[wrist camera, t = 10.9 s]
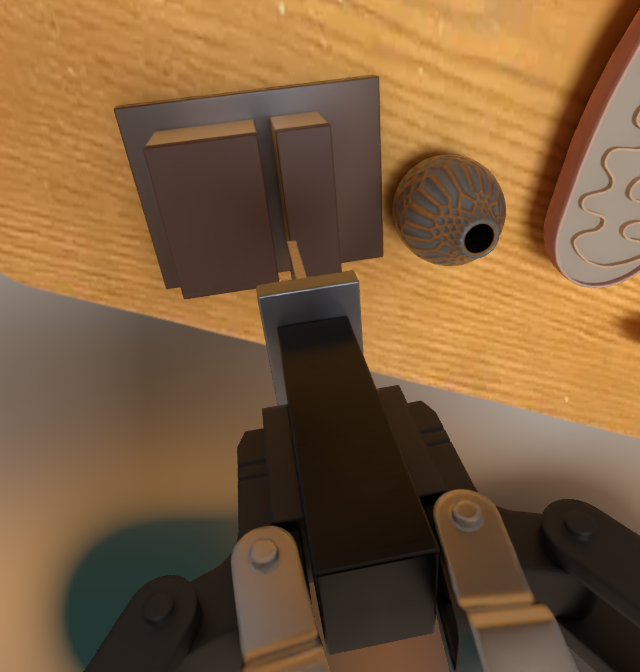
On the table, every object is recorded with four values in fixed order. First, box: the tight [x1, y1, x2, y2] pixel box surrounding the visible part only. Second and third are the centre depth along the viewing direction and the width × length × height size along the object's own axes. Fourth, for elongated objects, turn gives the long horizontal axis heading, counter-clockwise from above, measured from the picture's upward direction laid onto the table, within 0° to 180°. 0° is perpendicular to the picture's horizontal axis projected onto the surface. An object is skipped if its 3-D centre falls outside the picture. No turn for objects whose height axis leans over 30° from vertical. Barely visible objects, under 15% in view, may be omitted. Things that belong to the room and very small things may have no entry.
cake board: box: [114, 75, 383, 289], centre depth 33 cm, size 16×12×1 cm
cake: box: [143, 119, 279, 299], centre depth 31 cm, size 6×9×5 cm, turn 5°
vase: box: [393, 154, 506, 266], centre depth 32 cm, size 7×7×9 cm
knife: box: [256, 241, 439, 655], centre depth 15 cm, size 3×5×14 cm, turn 6°
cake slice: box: [270, 111, 342, 277], centre depth 31 cm, size 3×9×5 cm, turn 5°
